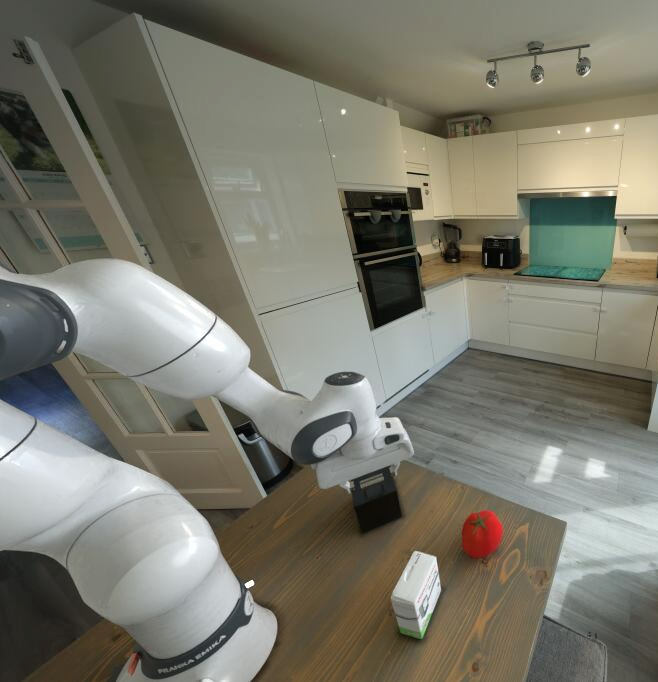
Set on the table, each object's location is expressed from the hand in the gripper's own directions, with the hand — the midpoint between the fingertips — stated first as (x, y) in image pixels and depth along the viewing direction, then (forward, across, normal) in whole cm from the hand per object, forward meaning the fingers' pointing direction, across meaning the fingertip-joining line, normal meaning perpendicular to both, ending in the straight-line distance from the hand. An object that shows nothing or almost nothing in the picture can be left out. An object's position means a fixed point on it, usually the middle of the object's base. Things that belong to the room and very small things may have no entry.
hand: (373, 482), depth 74 cm
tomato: (+14, +20, -18) cm, 30 cm away
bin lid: (+4, 0, +4) cm, 5 cm away
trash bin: (+13, 0, +4) cm, 14 cm away
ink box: (+13, +4, -24) cm, 28 cm away
